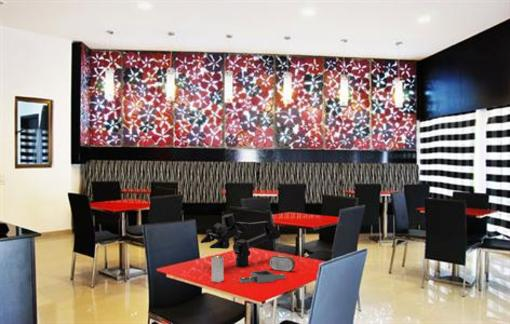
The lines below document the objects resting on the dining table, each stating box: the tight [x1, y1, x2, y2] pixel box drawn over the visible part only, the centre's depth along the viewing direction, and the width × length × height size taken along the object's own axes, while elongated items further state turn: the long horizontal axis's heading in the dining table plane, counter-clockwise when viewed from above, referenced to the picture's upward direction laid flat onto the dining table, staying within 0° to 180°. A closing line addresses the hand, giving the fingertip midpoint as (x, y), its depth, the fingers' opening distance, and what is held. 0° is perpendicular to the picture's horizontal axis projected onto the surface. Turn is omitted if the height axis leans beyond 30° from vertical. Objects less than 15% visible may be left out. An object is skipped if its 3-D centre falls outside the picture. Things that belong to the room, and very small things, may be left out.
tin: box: [268, 254, 296, 273], centre depth 247 cm, size 15×3×8 cm, turn 65°
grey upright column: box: [211, 254, 224, 283], centre depth 227 cm, size 4×4×13 cm
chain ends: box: [238, 269, 287, 284], centre depth 228 cm, size 9×24×4 cm, turn 110°
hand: (205, 244), depth 244 cm, fingers open, 9 cm apart
